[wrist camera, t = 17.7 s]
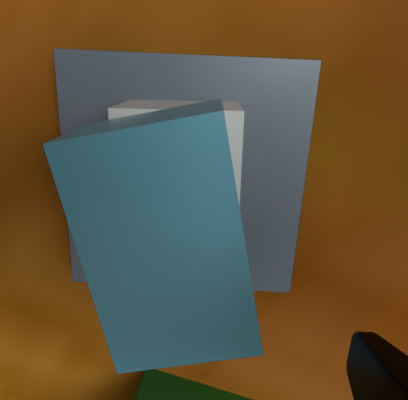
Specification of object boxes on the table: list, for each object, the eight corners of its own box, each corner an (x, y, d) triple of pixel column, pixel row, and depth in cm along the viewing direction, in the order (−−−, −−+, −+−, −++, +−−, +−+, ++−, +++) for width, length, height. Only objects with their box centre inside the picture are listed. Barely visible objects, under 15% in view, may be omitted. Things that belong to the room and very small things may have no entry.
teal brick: (221, 98, 14) (223, 110, 10) (252, 288, 16) (263, 354, 12) (88, 123, 14) (42, 143, 10) (138, 304, 17) (116, 373, 13)
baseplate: (312, 60, 18) (321, 60, 17) (284, 278, 22) (289, 292, 21) (65, 49, 18) (53, 48, 17) (81, 268, 22) (72, 281, 21)
